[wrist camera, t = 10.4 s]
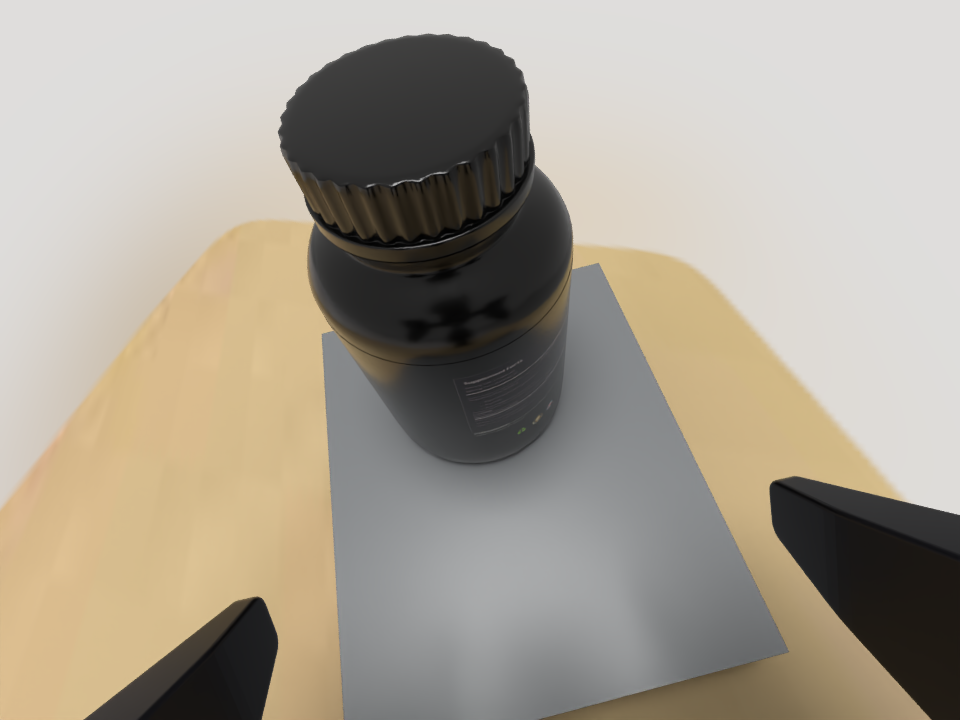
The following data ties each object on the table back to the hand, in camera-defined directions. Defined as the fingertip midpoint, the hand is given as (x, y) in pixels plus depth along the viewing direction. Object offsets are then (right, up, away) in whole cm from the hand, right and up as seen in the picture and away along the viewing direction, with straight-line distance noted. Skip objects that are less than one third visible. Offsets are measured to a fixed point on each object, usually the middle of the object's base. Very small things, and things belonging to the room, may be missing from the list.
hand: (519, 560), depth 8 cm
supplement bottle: (-1, +2, +11) cm, 11 cm away
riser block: (0, -2, +12) cm, 12 cm away
